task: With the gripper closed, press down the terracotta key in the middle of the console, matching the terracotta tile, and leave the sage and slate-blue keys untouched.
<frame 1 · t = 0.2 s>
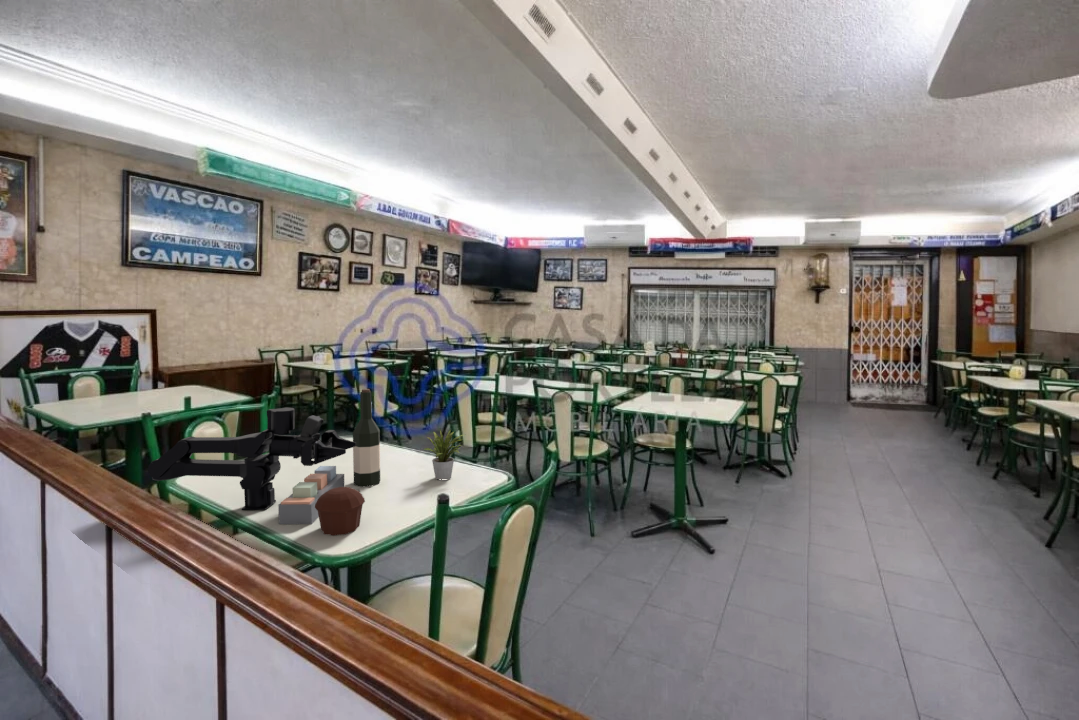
hand: (350, 447, 143), 16 cm above the table, tool horizontal, fingers open, 9 cm apart
slate key: (325, 474, 152), point 6 cm above the table, slide at 0.0 cm
house plant: (444, 479, 168), on the table
terracotta key: (315, 482, 145), point 6 cm above the table, slide at 0.0 cm
sage key: (305, 491, 137), point 6 cm above the table, slide at 0.0 cm
console: (316, 503, 145), on the table
muffin: (340, 528, 129), on the table
wine bottle: (367, 483, 164), on the table
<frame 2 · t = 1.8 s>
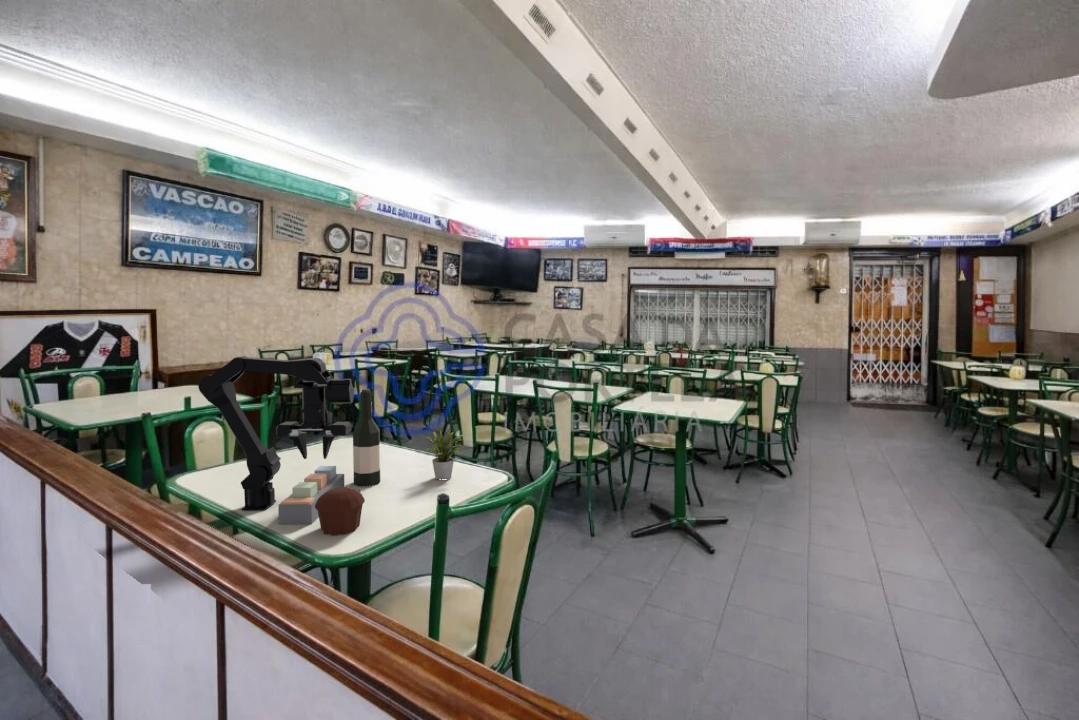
hand: (315, 458, 144), 13 cm above the table, tool pointing down, fingers open, 5 cm apart
nothing on the table moved.
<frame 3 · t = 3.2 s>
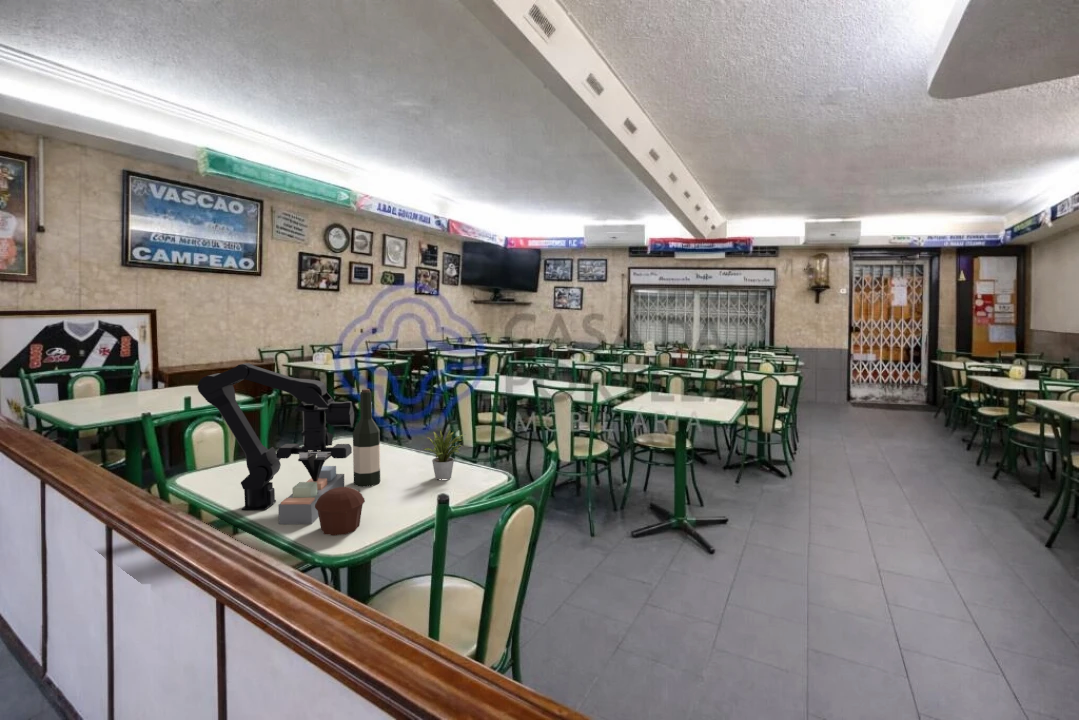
hand: (315, 480, 145), 7 cm above the table, tool pointing down, fingers closed, pressing on terracotta key
terracotta key: (316, 487, 145), point 5 cm above the table, slide at 1.4 cm, touching gripper
everything else where it was.
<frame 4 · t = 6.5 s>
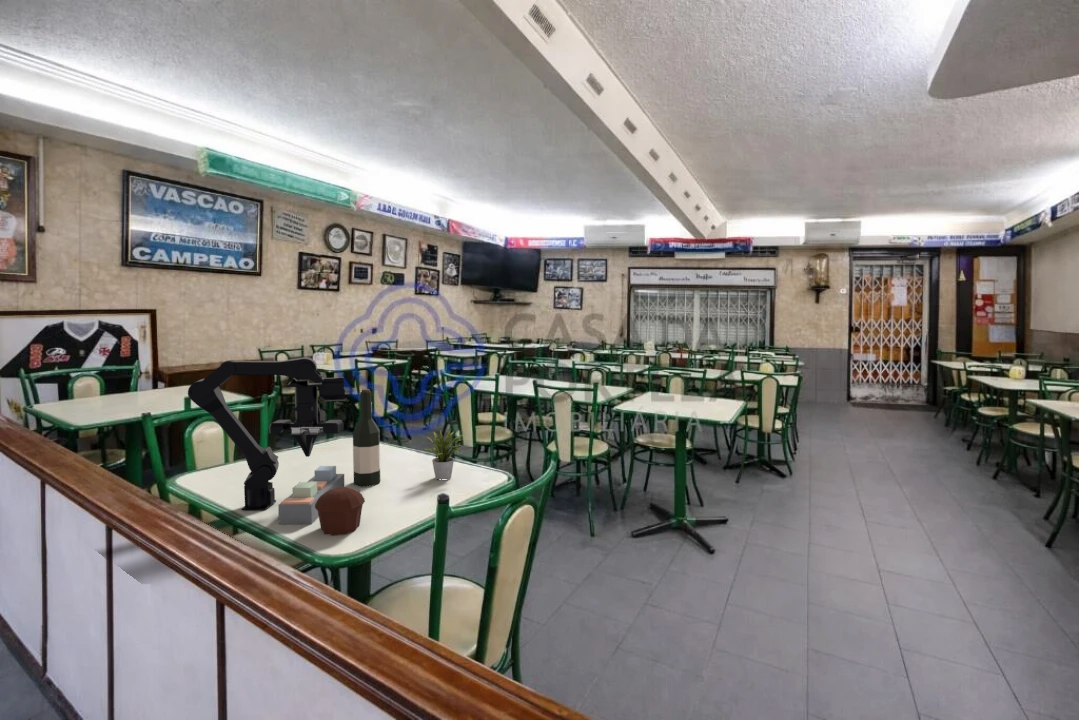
hand: (308, 456, 146), 13 cm above the table, tool pointing down, fingers closed
terracotta key: (316, 489, 145), point 4 cm above the table, slide at 2.2 cm
everything else where it was.
at the end: terracotta key slide at 2.2 cm; sage key slide at 0.0 cm; slate key slide at 0.0 cm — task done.
